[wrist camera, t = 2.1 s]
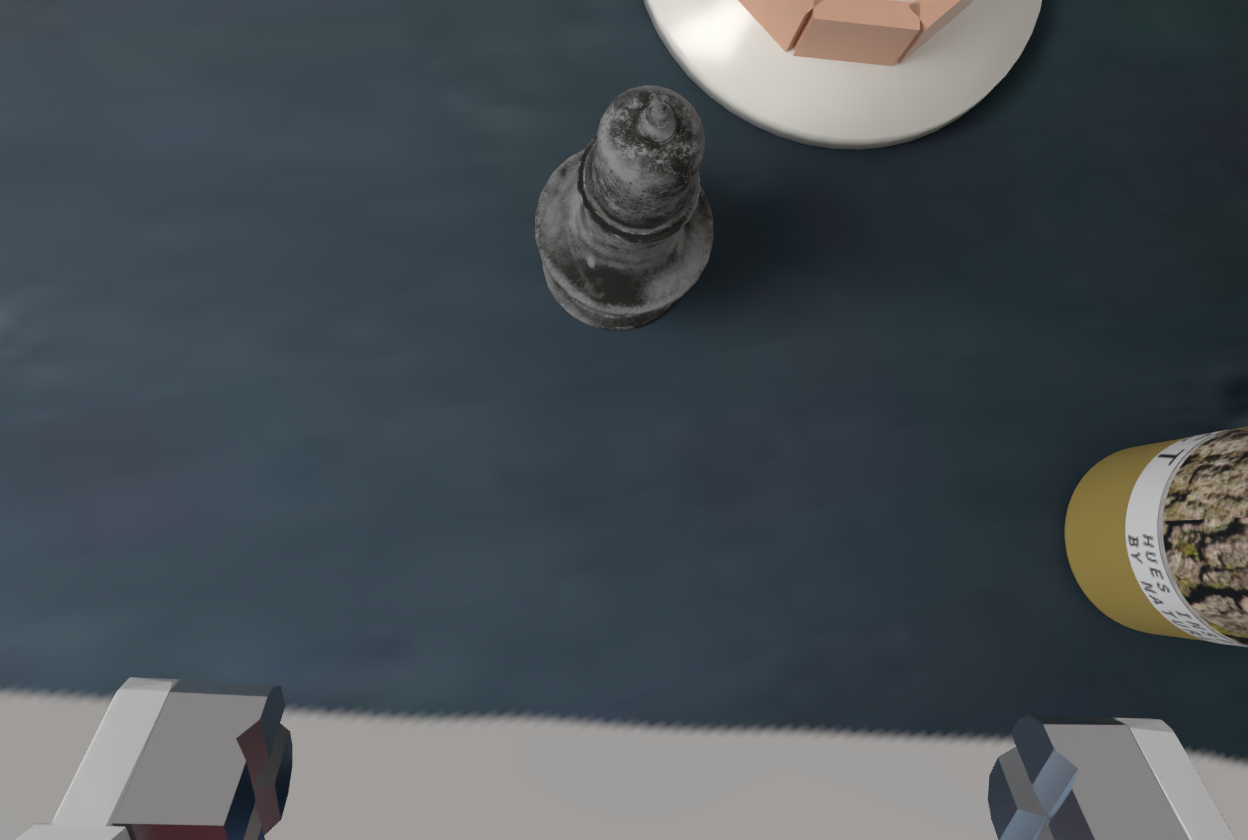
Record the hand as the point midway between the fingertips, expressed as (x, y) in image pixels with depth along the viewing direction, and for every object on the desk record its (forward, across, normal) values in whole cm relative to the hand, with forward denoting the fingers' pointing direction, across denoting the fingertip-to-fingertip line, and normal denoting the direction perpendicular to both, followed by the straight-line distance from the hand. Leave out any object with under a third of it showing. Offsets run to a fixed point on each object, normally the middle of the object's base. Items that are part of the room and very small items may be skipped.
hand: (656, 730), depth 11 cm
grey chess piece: (+25, 0, +7) cm, 26 cm away
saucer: (+34, -9, -2) cm, 35 cm away
